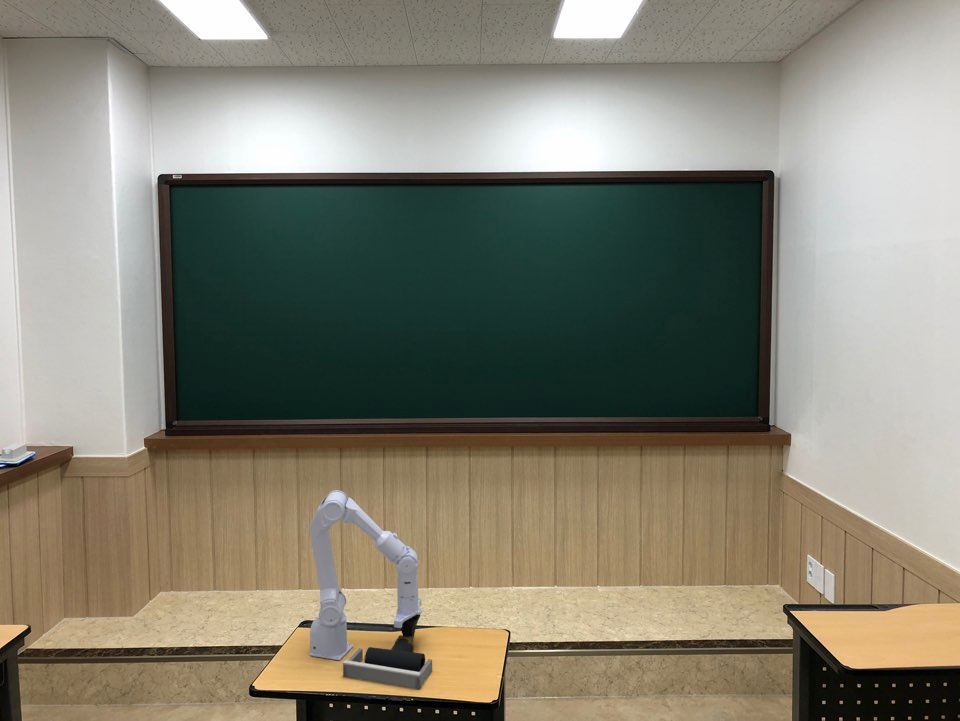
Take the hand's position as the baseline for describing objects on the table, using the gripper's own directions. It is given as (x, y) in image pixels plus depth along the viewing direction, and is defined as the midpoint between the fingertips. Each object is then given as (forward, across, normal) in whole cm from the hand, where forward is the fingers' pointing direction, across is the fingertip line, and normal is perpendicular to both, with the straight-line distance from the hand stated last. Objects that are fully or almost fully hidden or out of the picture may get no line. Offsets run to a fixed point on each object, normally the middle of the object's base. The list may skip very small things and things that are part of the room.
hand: (408, 641), depth 186 cm
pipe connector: (+2, -8, 0) cm, 8 cm away
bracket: (+2, -14, 0) cm, 14 cm away
